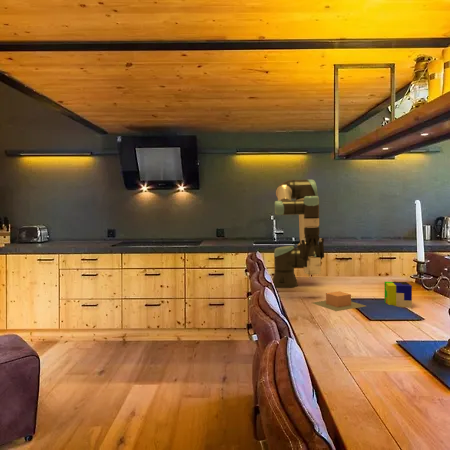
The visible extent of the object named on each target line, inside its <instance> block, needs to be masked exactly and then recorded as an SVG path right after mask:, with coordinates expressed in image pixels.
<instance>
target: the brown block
mask: <svg viewBox="0 0 450 450" xmlns="http://www.w3.org/2000/svg"><path fill="white" fill-rule="evenodd" d="M308 261H309V274H308V275H311V276H313V275H320V274H321V273H322V272H321V271H322V268H321V267H322V266H321V265H322V259H321V258H319V257H308ZM303 274H306V273H305V267H304V268H303Z"/></svg>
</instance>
